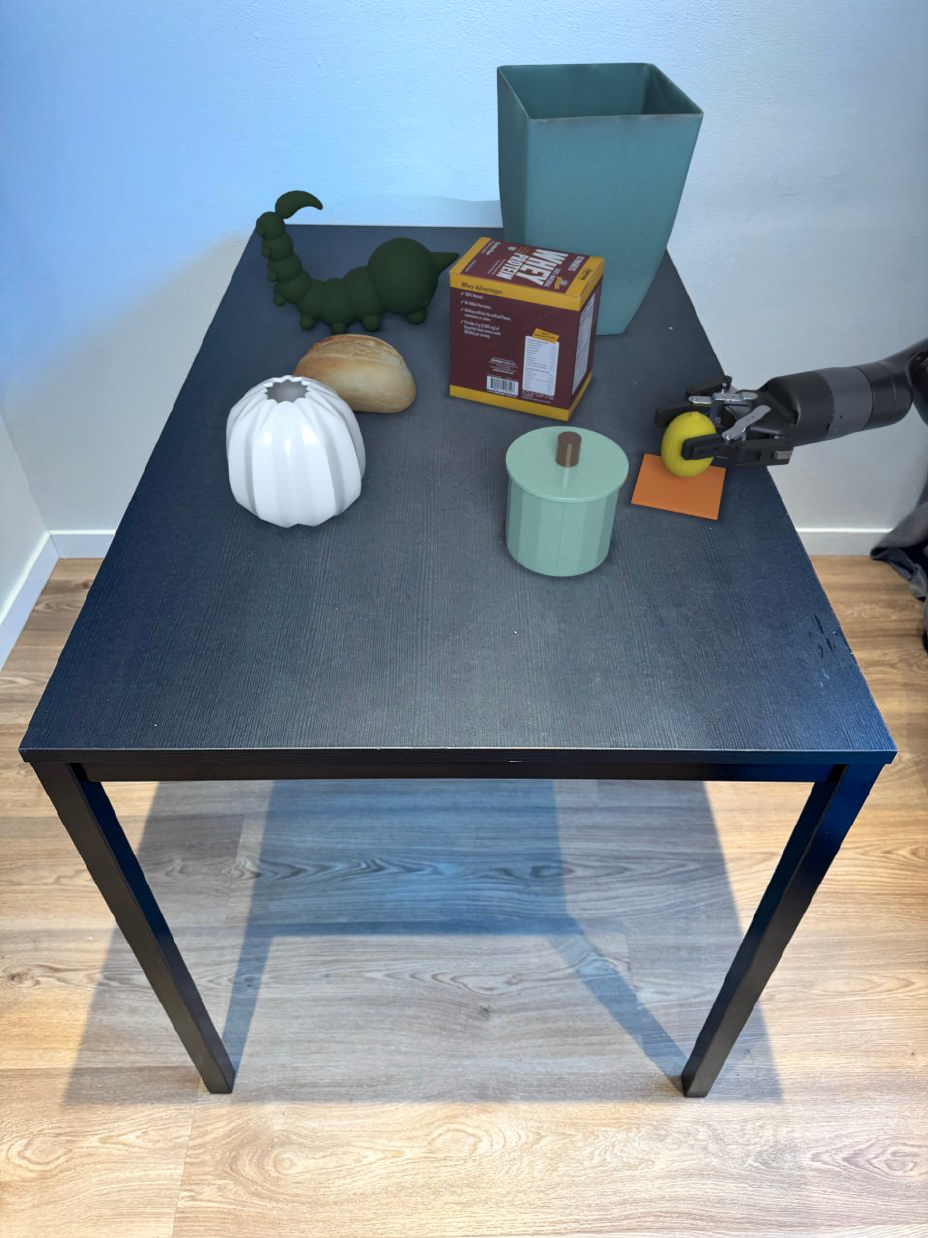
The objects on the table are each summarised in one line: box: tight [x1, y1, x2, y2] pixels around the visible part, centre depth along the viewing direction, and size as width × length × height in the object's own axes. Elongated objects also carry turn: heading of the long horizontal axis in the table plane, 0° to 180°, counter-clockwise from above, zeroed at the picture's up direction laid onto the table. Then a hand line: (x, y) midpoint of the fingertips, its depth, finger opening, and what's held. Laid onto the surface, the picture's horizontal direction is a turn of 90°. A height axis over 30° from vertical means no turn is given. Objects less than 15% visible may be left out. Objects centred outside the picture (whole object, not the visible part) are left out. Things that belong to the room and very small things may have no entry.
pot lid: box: [504, 425, 630, 503], centre depth 81 cm, size 11×11×4 cm
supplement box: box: [448, 236, 605, 422], centre depth 103 cm, size 10×15×16 cm
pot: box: [504, 475, 621, 577], centre depth 85 cm, size 10×10×9 cm
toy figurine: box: [255, 189, 461, 335], centre depth 113 cm, size 9×19×25 cm
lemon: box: [660, 411, 717, 478], centre depth 91 cm, size 6×6×8 cm
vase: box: [225, 374, 367, 529], centre depth 88 cm, size 14×14×13 cm
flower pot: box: [496, 62, 705, 336], centre depth 111 cm, size 20×20×28 cm
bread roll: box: [292, 333, 417, 414], centre depth 103 cm, size 10×15×8 cm, turn 93°
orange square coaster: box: [630, 453, 727, 521], centre depth 95 cm, size 9×9×1 cm
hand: (670, 433), depth 89 cm, fingers closed on lemon, 5 cm apart
